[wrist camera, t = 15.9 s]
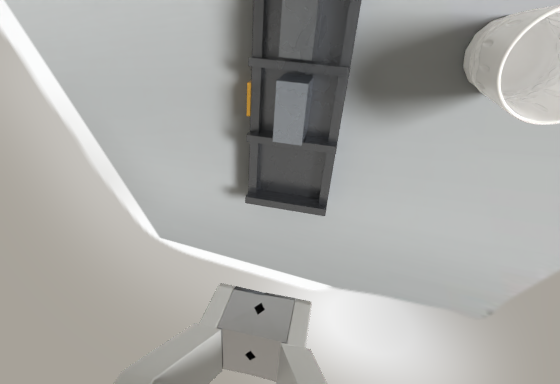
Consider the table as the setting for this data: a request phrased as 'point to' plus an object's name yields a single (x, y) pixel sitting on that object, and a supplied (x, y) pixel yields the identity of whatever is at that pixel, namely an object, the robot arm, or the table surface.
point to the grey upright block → (292, 108)
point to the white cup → (519, 64)
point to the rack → (324, 100)
